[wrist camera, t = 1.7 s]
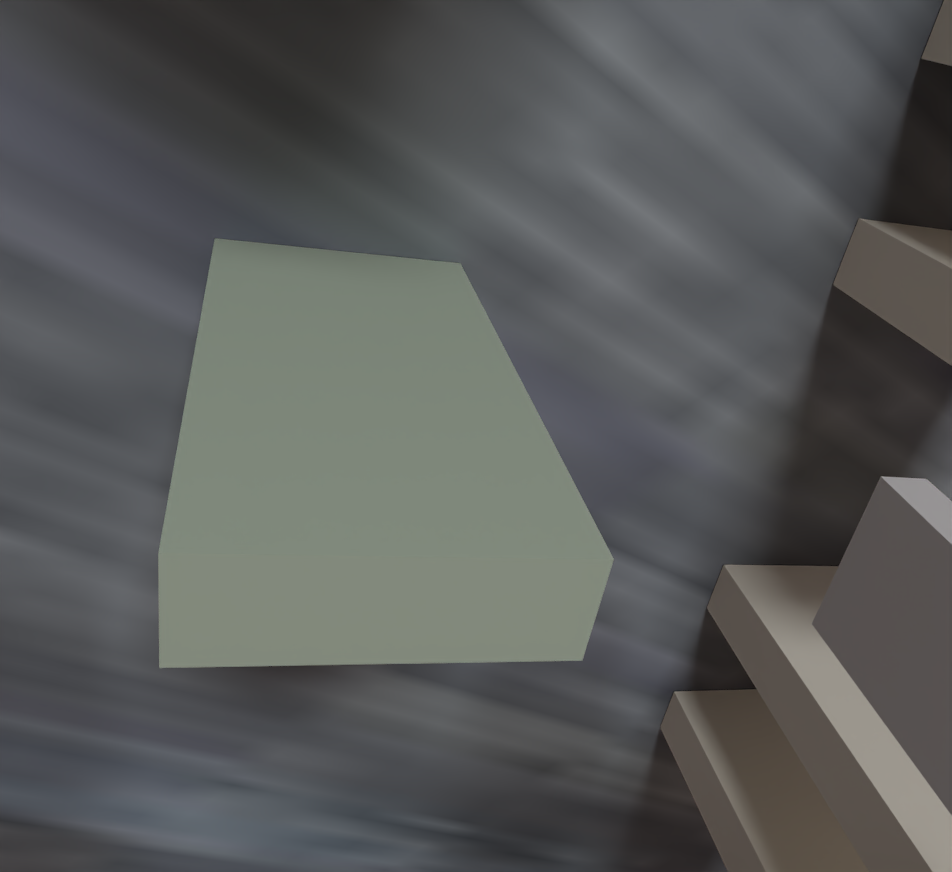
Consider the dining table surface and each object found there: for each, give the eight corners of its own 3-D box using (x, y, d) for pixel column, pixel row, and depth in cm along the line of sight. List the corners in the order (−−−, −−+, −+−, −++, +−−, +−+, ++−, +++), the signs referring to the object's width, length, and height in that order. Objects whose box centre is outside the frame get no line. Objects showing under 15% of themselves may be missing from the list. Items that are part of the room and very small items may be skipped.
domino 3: (853, 607, 27) (1117, 929, 18) (706, 608, 25) (919, 952, 17) (873, 566, 26) (1159, 882, 18) (723, 564, 25) (954, 904, 16)
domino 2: (796, 721, 29) (1008, 1052, 21) (660, 727, 28) (826, 1081, 19) (813, 687, 28) (1040, 1016, 20) (674, 691, 27) (853, 1044, 19)
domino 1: (448, 332, 19) (582, 660, 11) (212, 313, 18) (159, 667, 10) (460, 263, 19) (613, 559, 10) (214, 237, 17) (158, 552, 9)
